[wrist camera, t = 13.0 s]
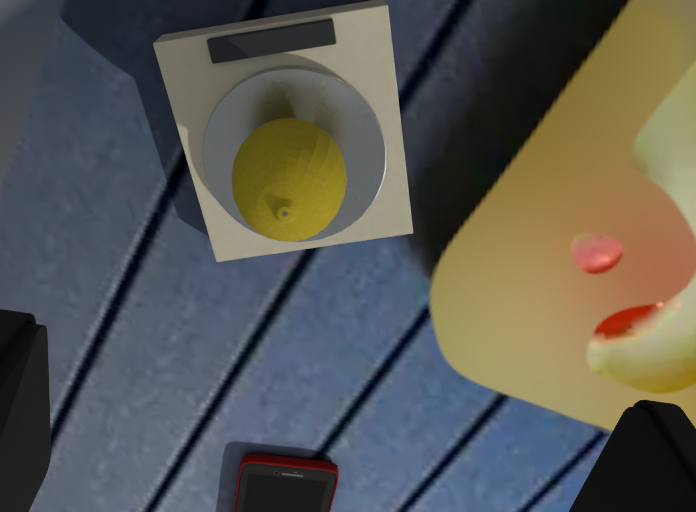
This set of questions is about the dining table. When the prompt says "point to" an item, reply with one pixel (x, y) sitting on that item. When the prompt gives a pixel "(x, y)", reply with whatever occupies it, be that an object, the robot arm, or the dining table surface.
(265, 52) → the scale
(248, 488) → the cell phone
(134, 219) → the dining table surface
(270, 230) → the lemon
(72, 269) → the dining table surface
